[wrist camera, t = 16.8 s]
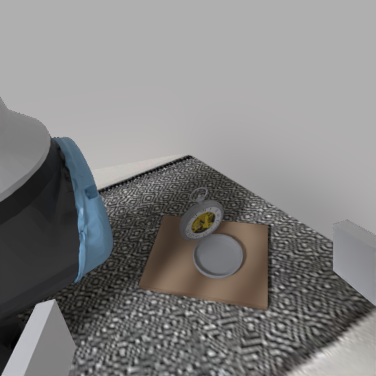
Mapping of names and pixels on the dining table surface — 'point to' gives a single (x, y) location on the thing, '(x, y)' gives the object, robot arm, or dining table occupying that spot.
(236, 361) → the dining table surface
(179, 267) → the walnut board
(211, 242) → the pocket watch
